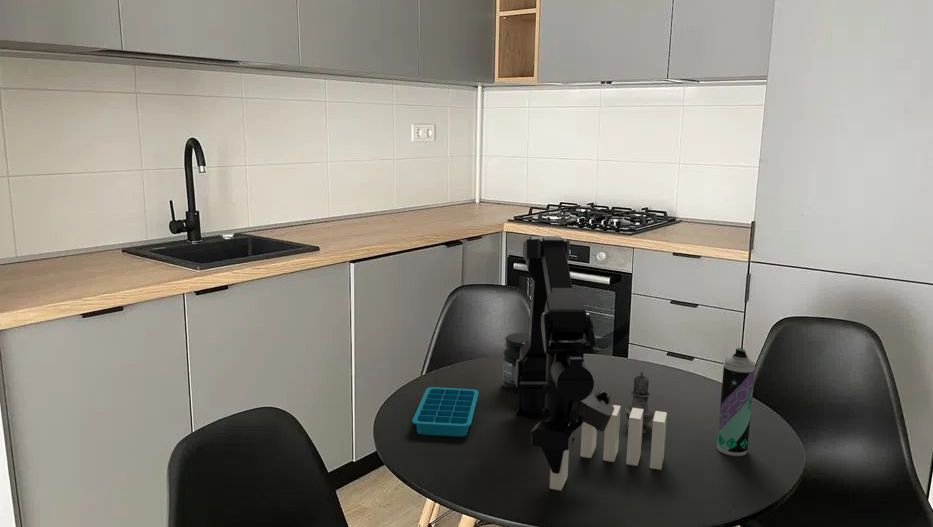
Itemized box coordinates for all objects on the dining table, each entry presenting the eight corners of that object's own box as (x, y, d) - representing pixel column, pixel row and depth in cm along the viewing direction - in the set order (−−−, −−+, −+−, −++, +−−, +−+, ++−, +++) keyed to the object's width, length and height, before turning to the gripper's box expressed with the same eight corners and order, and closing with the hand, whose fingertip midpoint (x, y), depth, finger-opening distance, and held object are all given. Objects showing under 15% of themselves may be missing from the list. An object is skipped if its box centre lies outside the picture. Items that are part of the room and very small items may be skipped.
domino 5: (649, 468, 130) (652, 420, 128) (652, 456, 134) (655, 410, 133) (661, 469, 129) (664, 422, 127) (663, 458, 134) (666, 412, 132)
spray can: (712, 444, 140) (720, 345, 136) (739, 443, 140) (748, 344, 137) (724, 456, 134) (733, 354, 131) (752, 455, 135) (762, 353, 131)
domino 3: (603, 460, 132) (605, 414, 131) (607, 449, 137) (609, 404, 135) (614, 462, 132) (616, 415, 130) (618, 450, 136) (620, 405, 135)
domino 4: (626, 464, 131) (629, 417, 129) (629, 452, 136) (632, 407, 134) (637, 465, 130) (640, 419, 129) (640, 454, 135) (643, 409, 133)
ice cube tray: (411, 437, 142) (411, 422, 141) (427, 399, 161) (427, 386, 161) (469, 440, 141) (470, 426, 140) (478, 402, 160) (479, 389, 160)
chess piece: (653, 434, 144) (657, 377, 141) (623, 432, 145) (627, 375, 143) (652, 423, 149) (656, 368, 147) (623, 420, 150) (626, 365, 148)
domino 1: (549, 488, 122) (551, 438, 120) (556, 475, 126) (558, 427, 125) (561, 490, 121) (563, 440, 119) (567, 477, 126) (569, 428, 124)
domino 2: (580, 456, 134) (582, 410, 132) (585, 445, 138) (587, 401, 137) (591, 458, 133) (593, 412, 131) (595, 447, 138) (598, 402, 136)
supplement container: (551, 382, 173) (552, 334, 170) (541, 397, 163) (542, 346, 161) (508, 377, 176) (510, 329, 174) (496, 391, 166) (497, 341, 164)
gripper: (602, 405, 109) (597, 500, 112) (619, 368, 126) (615, 451, 129) (530, 395, 113) (527, 488, 115) (557, 360, 130) (554, 441, 133)
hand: (559, 466), depth 123 cm, fingers closed on domino 1, 5 cm apart
